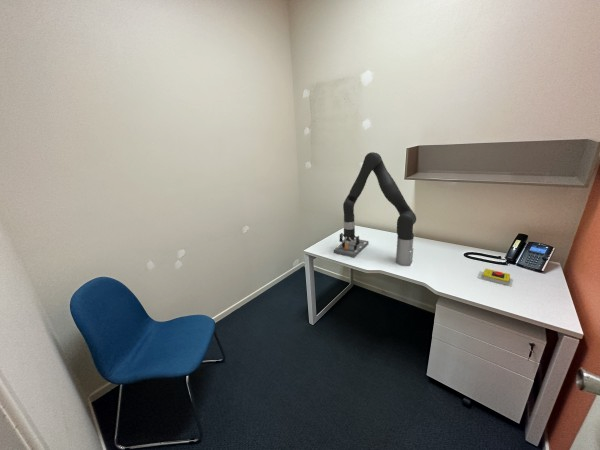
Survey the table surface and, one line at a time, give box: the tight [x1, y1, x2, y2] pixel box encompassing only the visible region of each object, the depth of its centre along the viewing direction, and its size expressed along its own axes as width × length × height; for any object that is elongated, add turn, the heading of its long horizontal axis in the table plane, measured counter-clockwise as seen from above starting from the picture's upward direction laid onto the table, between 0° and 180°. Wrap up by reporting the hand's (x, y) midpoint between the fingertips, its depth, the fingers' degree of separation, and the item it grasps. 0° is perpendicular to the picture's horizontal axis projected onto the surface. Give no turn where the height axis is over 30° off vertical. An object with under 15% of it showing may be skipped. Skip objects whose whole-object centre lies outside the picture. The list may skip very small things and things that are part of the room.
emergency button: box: [476, 268, 514, 287], centre depth 136 cm, size 9×4×15 cm
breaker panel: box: [333, 238, 370, 259], centre depth 184 cm, size 16×26×7 cm, turn 144°
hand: (349, 248), depth 177 cm, fingers open, 8 cm apart
